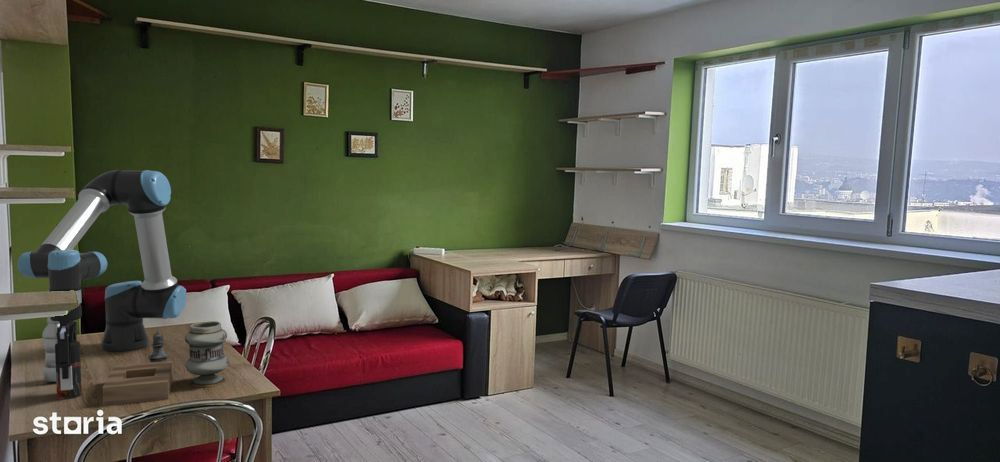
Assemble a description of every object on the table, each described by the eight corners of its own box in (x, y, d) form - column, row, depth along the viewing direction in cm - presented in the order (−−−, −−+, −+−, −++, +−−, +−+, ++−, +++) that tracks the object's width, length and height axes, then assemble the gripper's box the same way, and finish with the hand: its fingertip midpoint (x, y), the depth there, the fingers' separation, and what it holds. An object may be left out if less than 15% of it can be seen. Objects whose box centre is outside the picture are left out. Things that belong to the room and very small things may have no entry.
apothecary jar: (177, 382, 207) (176, 324, 205) (214, 373, 217) (213, 317, 215) (200, 390, 200) (199, 330, 198) (237, 380, 210) (236, 323, 208)
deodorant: (86, 394, 195) (84, 342, 194) (65, 400, 190) (63, 347, 189) (73, 391, 198) (71, 340, 196) (52, 397, 192) (50, 344, 191)
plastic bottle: (51, 378, 209) (48, 313, 207) (74, 377, 210) (71, 313, 208) (38, 384, 203) (36, 318, 201) (62, 384, 203) (60, 318, 202)
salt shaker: (160, 369, 220) (159, 333, 218) (144, 368, 221) (143, 331, 220) (172, 364, 225) (171, 329, 224) (156, 363, 226) (155, 327, 225)
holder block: (114, 381, 207) (114, 365, 206) (173, 376, 213) (172, 360, 212) (103, 405, 187) (102, 387, 186) (168, 399, 193) (167, 381, 192)
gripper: (57, 299, 199) (60, 377, 201) (42, 313, 181) (45, 397, 184) (87, 298, 202) (90, 375, 204) (74, 311, 184) (78, 394, 186)
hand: (69, 385), depth 194 cm, fingers closed on deodorant, 6 cm apart
